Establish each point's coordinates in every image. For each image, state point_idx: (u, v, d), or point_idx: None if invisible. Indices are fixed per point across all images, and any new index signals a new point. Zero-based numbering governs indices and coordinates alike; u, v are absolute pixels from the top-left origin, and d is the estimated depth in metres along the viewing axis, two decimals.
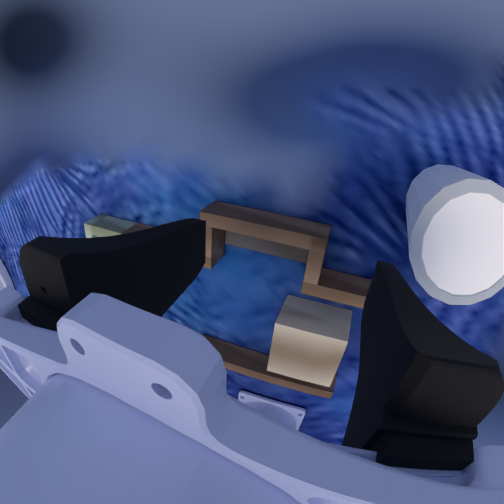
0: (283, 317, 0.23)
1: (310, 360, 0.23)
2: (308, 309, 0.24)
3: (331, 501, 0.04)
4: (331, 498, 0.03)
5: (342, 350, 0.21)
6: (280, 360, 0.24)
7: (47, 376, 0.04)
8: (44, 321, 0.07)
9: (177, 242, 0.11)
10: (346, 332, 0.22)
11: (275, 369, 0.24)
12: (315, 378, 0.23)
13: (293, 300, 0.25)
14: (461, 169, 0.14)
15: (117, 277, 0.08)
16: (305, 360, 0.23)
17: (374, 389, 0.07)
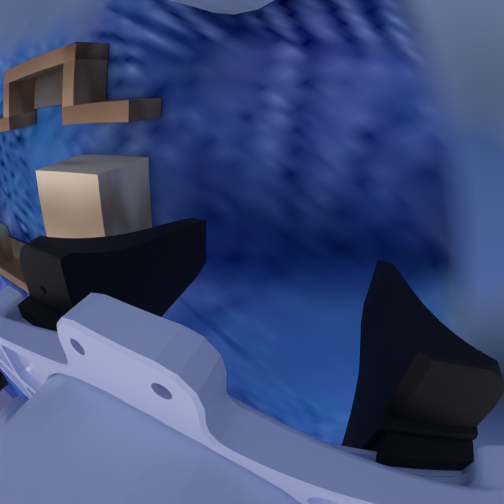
0: (50, 166, 0.14)
1: (75, 226, 0.14)
2: (88, 159, 0.15)
3: (331, 501, 0.04)
4: (331, 498, 0.03)
5: (97, 195, 0.13)
6: (54, 235, 0.15)
7: (47, 376, 0.04)
8: (44, 321, 0.07)
9: (177, 242, 0.11)
10: (108, 168, 0.13)
11: None
12: None
13: (82, 156, 0.16)
14: None
15: (117, 277, 0.08)
16: (72, 227, 0.14)
17: (374, 389, 0.07)
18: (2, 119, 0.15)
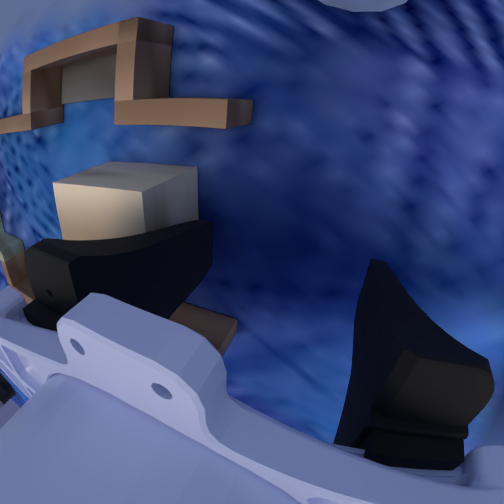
0: (71, 177, 0.12)
1: None
2: (118, 169, 0.13)
3: (331, 501, 0.04)
4: (331, 498, 0.03)
5: (140, 217, 0.11)
6: None
7: (47, 376, 0.04)
8: (50, 325, 0.07)
9: (184, 244, 0.11)
10: (152, 183, 0.11)
11: None
12: None
13: (108, 164, 0.14)
14: None
15: (125, 280, 0.08)
16: None
17: (364, 387, 0.07)
18: (21, 116, 0.13)
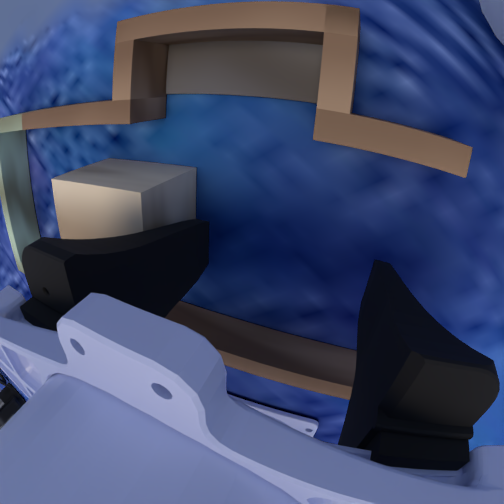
0: (70, 174, 0.12)
1: None
2: (117, 167, 0.13)
3: (331, 501, 0.04)
4: (331, 498, 0.03)
5: (139, 218, 0.11)
6: None
7: (47, 376, 0.04)
8: (47, 323, 0.07)
9: (180, 243, 0.11)
10: (151, 184, 0.11)
11: None
12: None
13: (107, 161, 0.14)
14: None
15: (121, 278, 0.08)
16: None
17: (369, 388, 0.07)
18: (108, 103, 0.11)
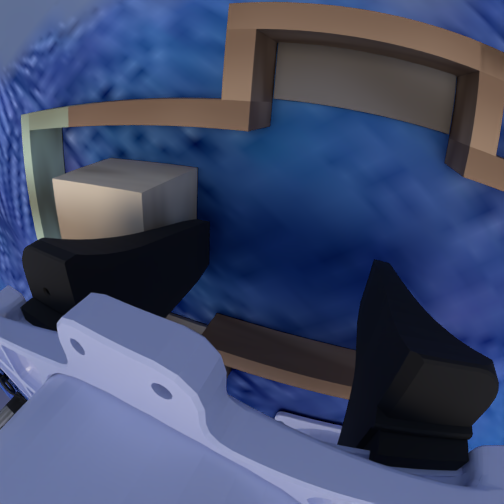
0: (71, 174, 0.12)
1: None
2: (118, 167, 0.13)
3: (331, 501, 0.04)
4: (331, 498, 0.03)
5: (139, 218, 0.11)
6: None
7: (47, 376, 0.04)
8: (48, 323, 0.07)
9: (181, 243, 0.11)
10: (152, 184, 0.11)
11: None
12: None
13: (108, 161, 0.14)
14: None
15: (122, 279, 0.08)
16: None
17: (368, 388, 0.07)
18: (215, 102, 0.09)
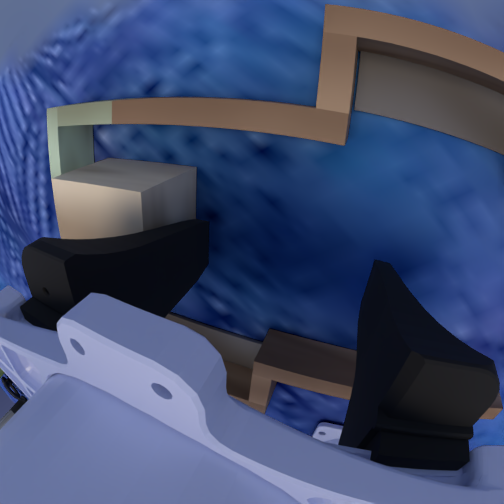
0: (70, 174, 0.12)
1: None
2: (117, 166, 0.13)
3: (331, 501, 0.04)
4: (331, 498, 0.03)
5: (139, 217, 0.11)
6: None
7: (47, 376, 0.04)
8: (47, 323, 0.07)
9: (180, 243, 0.11)
10: (151, 183, 0.11)
11: None
12: None
13: (108, 161, 0.14)
14: None
15: (121, 278, 0.08)
16: None
17: (369, 388, 0.07)
18: (308, 110, 0.08)
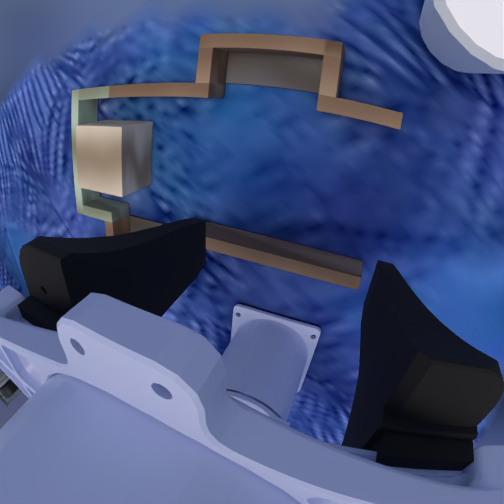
0: (86, 124, 0.22)
1: (101, 161, 0.22)
2: (112, 121, 0.23)
3: (331, 501, 0.04)
4: (331, 498, 0.03)
5: (120, 139, 0.20)
6: (83, 170, 0.23)
7: (47, 376, 0.04)
8: (44, 321, 0.07)
9: (177, 242, 0.11)
10: (127, 125, 0.20)
11: (83, 183, 0.23)
12: (109, 186, 0.22)
13: (107, 120, 0.23)
14: None
15: (117, 277, 0.08)
16: (98, 162, 0.22)
17: (374, 389, 0.07)
18: (192, 84, 0.18)
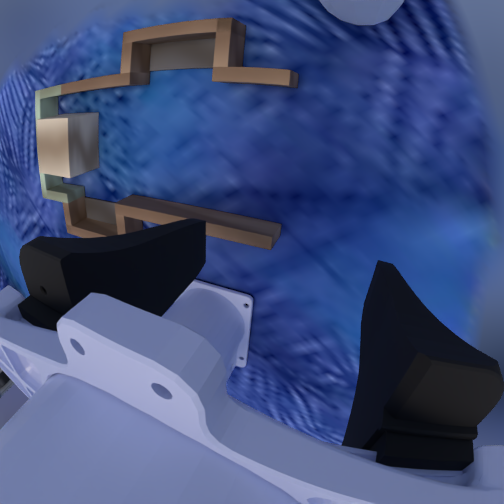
0: (45, 118, 0.23)
1: (54, 148, 0.23)
2: (67, 114, 0.24)
3: (331, 501, 0.04)
4: (331, 498, 0.03)
5: (66, 128, 0.21)
6: (42, 157, 0.24)
7: (47, 376, 0.04)
8: (44, 321, 0.07)
9: (177, 242, 0.11)
10: (74, 116, 0.22)
11: (43, 169, 0.24)
12: (61, 169, 0.24)
13: (64, 114, 0.25)
14: None
15: (117, 277, 0.08)
16: (52, 149, 0.23)
17: (374, 389, 0.07)
18: (118, 75, 0.19)
